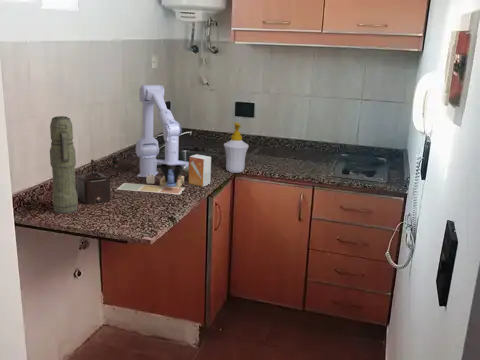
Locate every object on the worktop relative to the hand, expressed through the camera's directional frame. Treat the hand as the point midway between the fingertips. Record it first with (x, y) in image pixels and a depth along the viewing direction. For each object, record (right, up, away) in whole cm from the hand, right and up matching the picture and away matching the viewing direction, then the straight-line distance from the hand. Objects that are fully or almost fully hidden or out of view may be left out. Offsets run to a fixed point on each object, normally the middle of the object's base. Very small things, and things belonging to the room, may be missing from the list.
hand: (171, 181), depth 212 cm
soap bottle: (+27, +5, +38) cm, 47 cm away
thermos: (-36, -11, -28) cm, 47 cm away
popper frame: (-1, -1, +10) cm, 10 cm away
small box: (+11, -1, +13) cm, 17 cm away
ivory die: (-11, -1, +11) cm, 16 cm away
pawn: (0, -2, 0) cm, 2 cm away
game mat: (-9, -3, +2) cm, 10 cm away
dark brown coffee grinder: (-27, -7, -14) cm, 31 cm away
